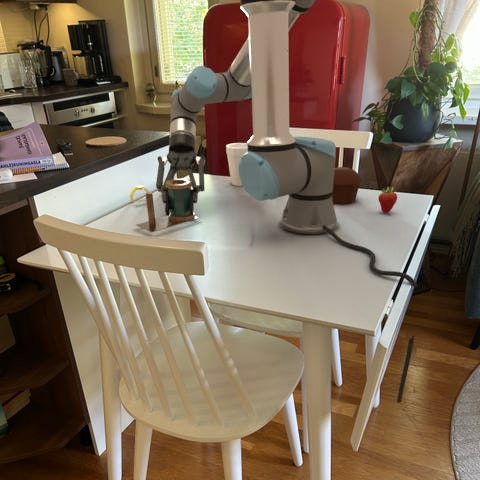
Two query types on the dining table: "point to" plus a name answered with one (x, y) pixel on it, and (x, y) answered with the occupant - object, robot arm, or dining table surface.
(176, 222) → the spool stand
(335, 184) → the muffin
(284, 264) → the dining table surface
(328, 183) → the robot arm
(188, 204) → the spool
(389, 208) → the fruit
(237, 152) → the foam cup
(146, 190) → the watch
